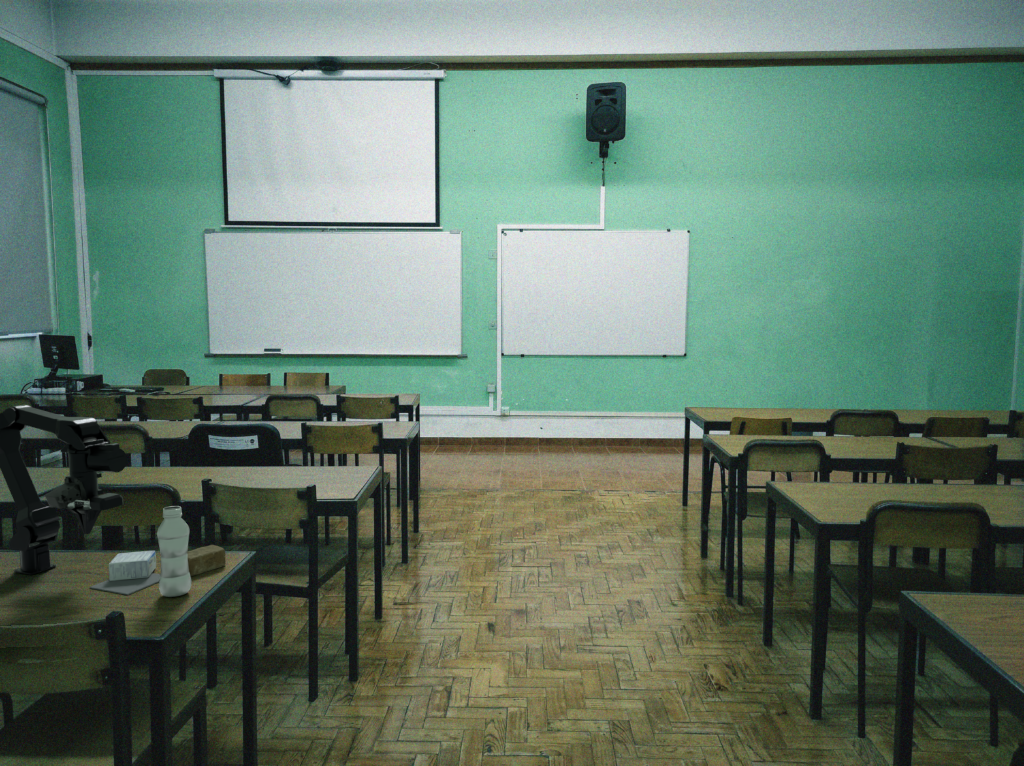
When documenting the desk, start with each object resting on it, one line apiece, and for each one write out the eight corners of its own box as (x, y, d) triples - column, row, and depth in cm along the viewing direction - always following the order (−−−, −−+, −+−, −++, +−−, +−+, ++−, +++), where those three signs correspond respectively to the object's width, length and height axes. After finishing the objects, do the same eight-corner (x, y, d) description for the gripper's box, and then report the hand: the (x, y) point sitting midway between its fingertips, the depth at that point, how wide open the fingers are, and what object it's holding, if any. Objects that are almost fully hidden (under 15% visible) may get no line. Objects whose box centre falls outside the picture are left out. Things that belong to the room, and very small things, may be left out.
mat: (89, 588, 162) (89, 586, 162) (134, 571, 173) (134, 569, 173) (127, 595, 158) (127, 593, 158) (170, 577, 169) (170, 576, 169)
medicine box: (108, 581, 165) (148, 578, 168) (107, 563, 165) (148, 560, 167) (118, 570, 173) (156, 567, 175) (117, 552, 173) (155, 550, 175)
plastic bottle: (166, 589, 161) (162, 504, 159) (196, 589, 161) (193, 504, 160) (153, 600, 155) (149, 512, 153) (185, 600, 155) (181, 511, 153)
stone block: (172, 574, 171) (172, 554, 171) (215, 561, 181) (214, 542, 180) (186, 579, 168) (185, 559, 168) (228, 565, 178) (228, 546, 177)
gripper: (23, 474, 164) (27, 539, 166) (79, 480, 158) (83, 548, 159) (68, 465, 175) (71, 526, 176) (123, 470, 168) (126, 534, 169)
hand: (87, 534), depth 170 cm, fingers closed
